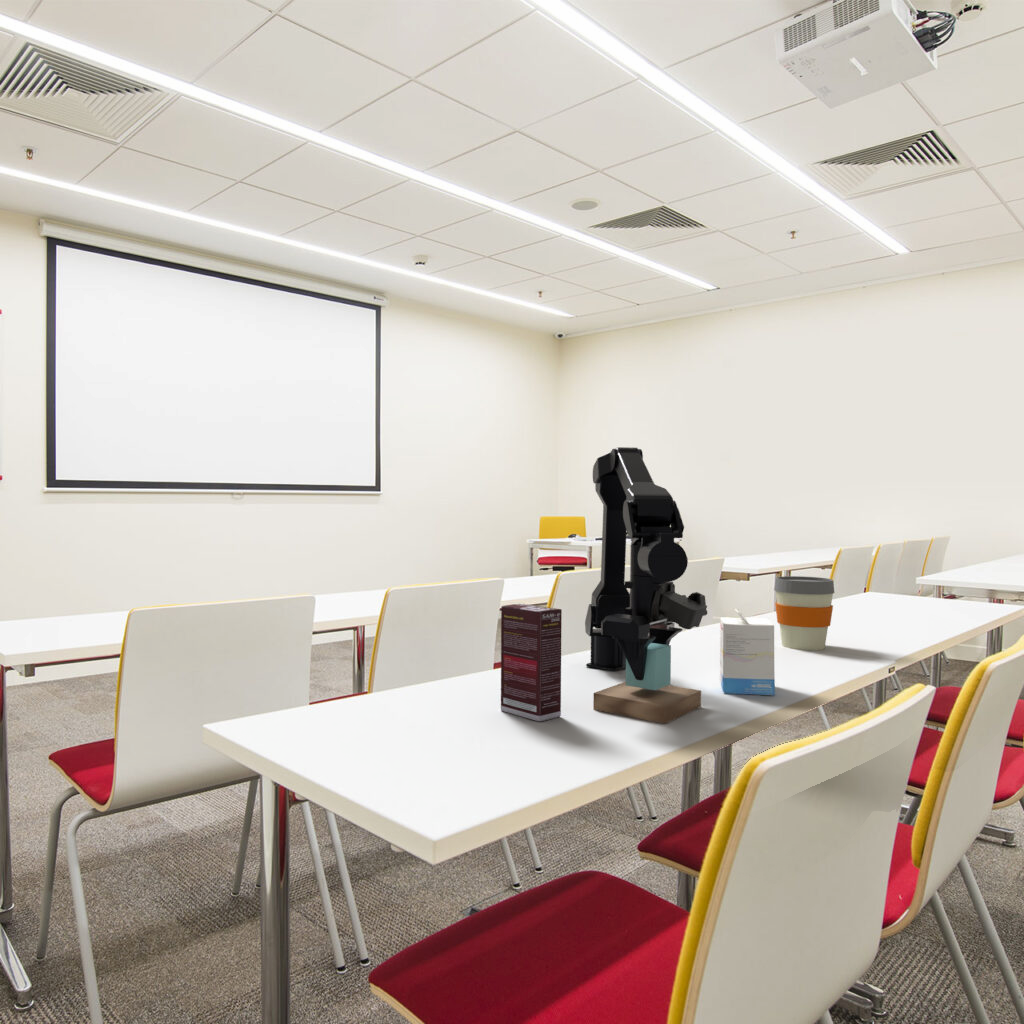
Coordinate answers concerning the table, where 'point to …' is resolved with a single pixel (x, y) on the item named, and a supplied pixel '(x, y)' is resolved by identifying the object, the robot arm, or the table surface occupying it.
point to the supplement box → (531, 661)
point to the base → (648, 702)
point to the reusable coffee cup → (804, 611)
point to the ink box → (747, 655)
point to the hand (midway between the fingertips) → (647, 676)
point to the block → (653, 668)
